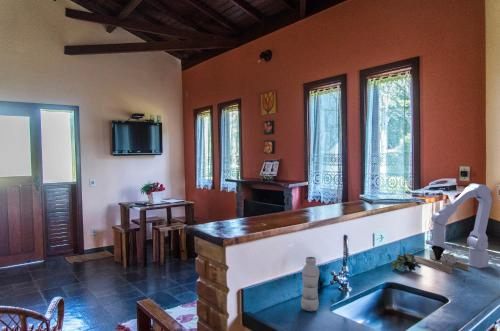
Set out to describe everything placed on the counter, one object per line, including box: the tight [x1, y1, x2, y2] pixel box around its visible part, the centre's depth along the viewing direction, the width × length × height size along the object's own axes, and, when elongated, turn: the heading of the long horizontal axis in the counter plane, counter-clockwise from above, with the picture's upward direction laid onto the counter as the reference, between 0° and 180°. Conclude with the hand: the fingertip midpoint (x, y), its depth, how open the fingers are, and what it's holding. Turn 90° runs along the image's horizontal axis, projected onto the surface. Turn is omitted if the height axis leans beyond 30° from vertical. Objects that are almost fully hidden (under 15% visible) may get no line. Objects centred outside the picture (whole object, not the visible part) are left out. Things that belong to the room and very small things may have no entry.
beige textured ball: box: [437, 251, 460, 269], centre depth 192 cm, size 9×8×10 cm
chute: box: [413, 252, 469, 274], centre depth 197 cm, size 14×22×3 cm, turn 25°
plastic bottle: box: [300, 256, 320, 312], centre depth 139 cm, size 6×7×20 cm
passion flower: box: [390, 252, 422, 274], centre depth 186 cm, size 11×11×12 cm
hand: (437, 260), depth 198 cm, fingers closed
